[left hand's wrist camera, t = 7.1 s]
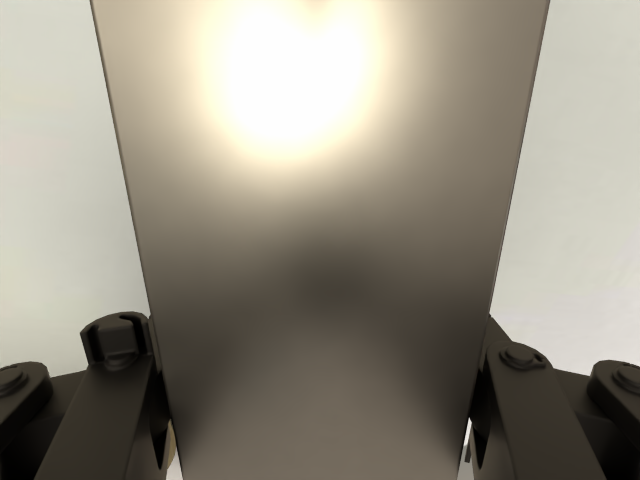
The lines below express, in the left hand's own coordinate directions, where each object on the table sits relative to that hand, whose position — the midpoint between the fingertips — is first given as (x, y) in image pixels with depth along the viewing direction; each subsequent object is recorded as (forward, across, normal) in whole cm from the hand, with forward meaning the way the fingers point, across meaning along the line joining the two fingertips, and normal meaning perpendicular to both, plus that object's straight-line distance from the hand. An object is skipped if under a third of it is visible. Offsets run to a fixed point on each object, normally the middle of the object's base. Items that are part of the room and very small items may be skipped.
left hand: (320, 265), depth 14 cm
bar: (+1, 0, -8) cm, 8 cm away
